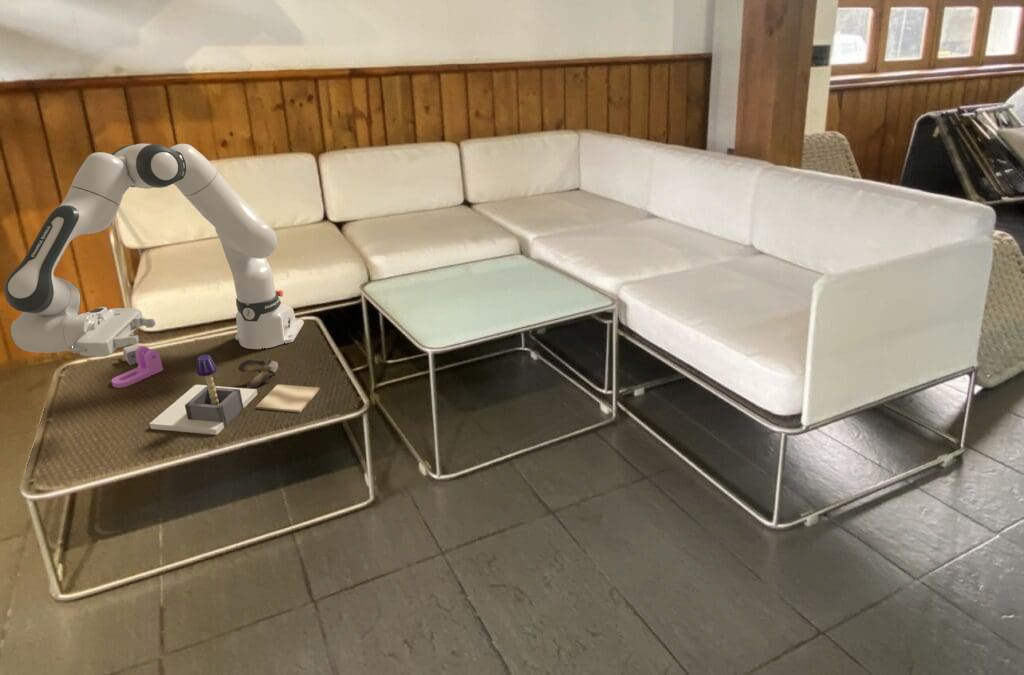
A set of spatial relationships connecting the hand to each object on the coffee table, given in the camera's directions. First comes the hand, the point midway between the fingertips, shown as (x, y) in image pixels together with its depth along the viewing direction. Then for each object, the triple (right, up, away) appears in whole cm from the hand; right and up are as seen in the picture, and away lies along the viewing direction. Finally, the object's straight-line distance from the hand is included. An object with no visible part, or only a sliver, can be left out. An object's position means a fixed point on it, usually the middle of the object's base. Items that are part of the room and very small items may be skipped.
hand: (146, 331), depth 177 cm
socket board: (+9, -20, +13) cm, 26 cm away
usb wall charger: (-24, -8, +41) cm, 48 cm away
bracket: (-18, -13, +31) cm, 38 cm away
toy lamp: (+13, -21, +11) cm, 27 cm away
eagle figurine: (+18, -13, +28) cm, 36 cm away
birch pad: (+28, -18, +18) cm, 38 cm away
